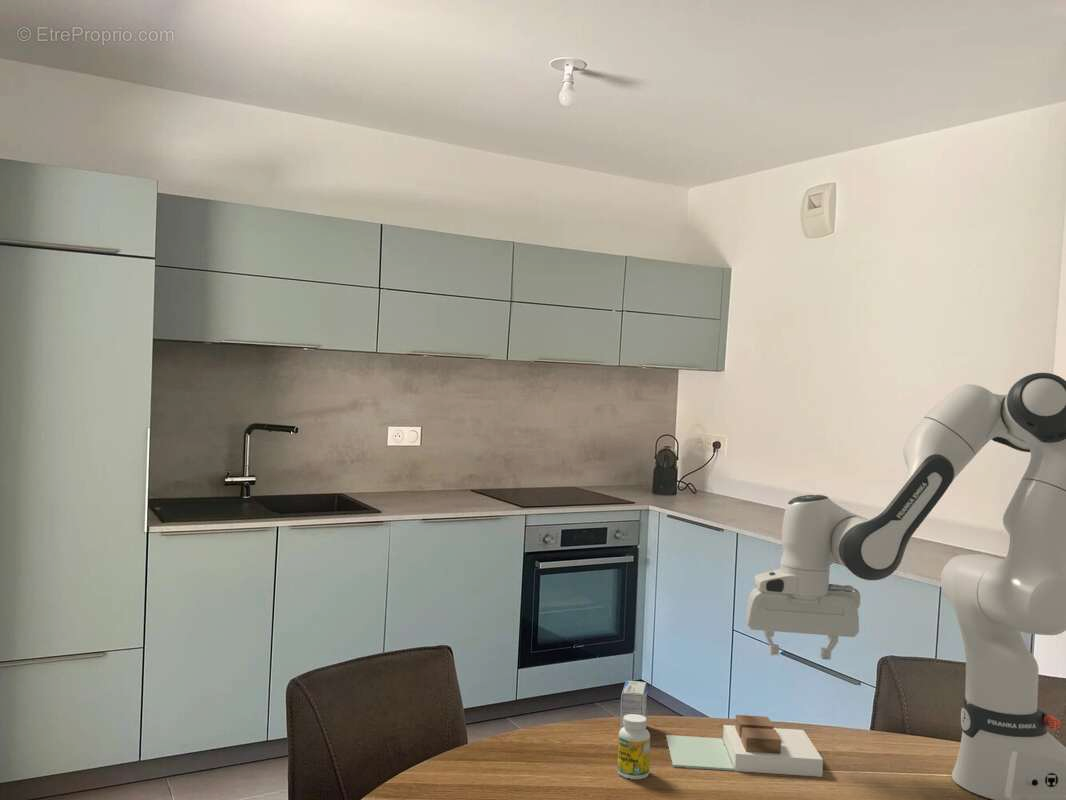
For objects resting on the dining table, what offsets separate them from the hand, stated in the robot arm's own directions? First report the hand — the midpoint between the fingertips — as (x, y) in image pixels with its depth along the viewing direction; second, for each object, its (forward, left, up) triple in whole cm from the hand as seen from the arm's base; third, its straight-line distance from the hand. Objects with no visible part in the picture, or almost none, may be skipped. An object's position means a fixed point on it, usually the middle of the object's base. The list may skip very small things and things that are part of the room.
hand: (799, 656), depth 165 cm
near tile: (+8, +6, -15) cm, 18 cm away
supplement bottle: (+31, +14, -18) cm, 38 cm away
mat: (+18, +3, -18) cm, 26 cm away
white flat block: (+5, +3, -18) cm, 19 cm away
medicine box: (+30, -6, -18) cm, 35 cm away
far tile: (+8, 0, -15) cm, 17 cm away
